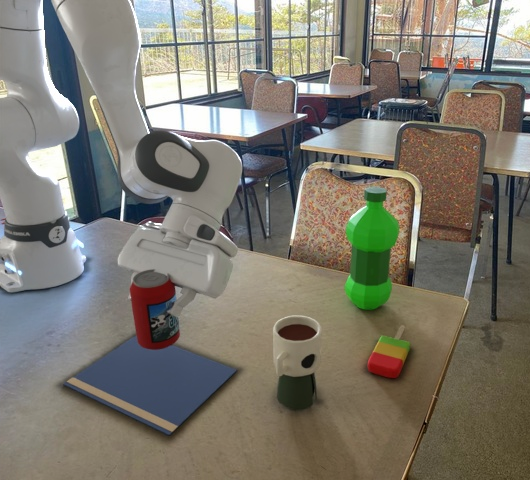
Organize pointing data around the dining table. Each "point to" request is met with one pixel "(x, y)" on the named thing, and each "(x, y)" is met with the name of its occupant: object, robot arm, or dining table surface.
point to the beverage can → (154, 310)
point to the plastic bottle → (371, 251)
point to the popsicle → (389, 355)
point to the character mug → (296, 360)
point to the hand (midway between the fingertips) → (152, 308)
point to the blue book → (152, 383)
